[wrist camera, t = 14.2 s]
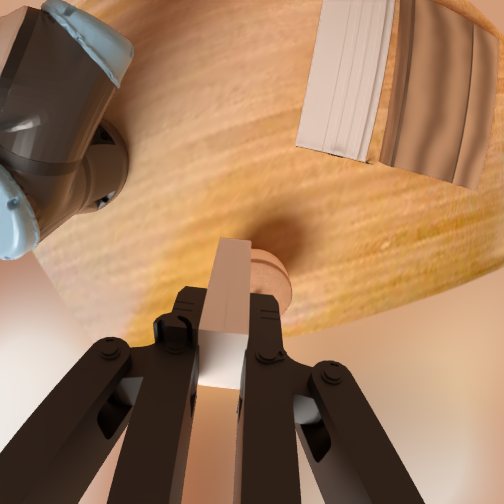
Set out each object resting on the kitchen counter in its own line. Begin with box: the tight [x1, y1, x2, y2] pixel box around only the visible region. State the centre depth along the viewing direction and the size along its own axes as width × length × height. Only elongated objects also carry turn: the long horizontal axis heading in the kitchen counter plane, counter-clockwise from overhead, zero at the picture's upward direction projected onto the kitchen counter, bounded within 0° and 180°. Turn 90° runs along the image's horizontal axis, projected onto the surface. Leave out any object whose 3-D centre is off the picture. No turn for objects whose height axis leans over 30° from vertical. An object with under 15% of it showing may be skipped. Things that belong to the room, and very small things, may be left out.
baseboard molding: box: [295, 0, 395, 165], centre depth 33 cm, size 31×3×12 cm
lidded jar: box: [250, 249, 292, 316], centre depth 45 cm, size 11×11×9 cm
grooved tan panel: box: [379, 0, 499, 191], centre depth 34 cm, size 18×28×3 cm, turn 173°
